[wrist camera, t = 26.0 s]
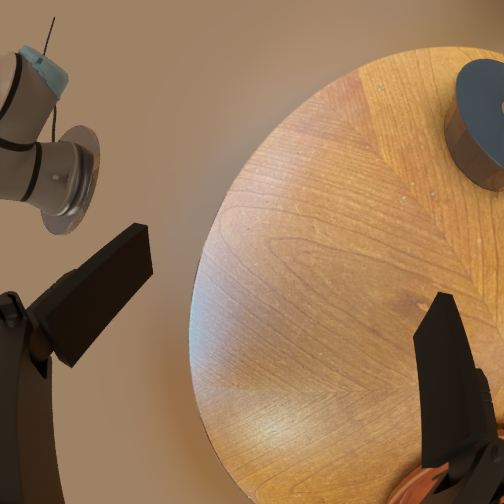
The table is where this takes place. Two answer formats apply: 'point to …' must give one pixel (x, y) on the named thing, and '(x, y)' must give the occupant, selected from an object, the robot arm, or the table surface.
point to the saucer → (420, 483)
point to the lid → (483, 106)
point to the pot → (470, 153)
